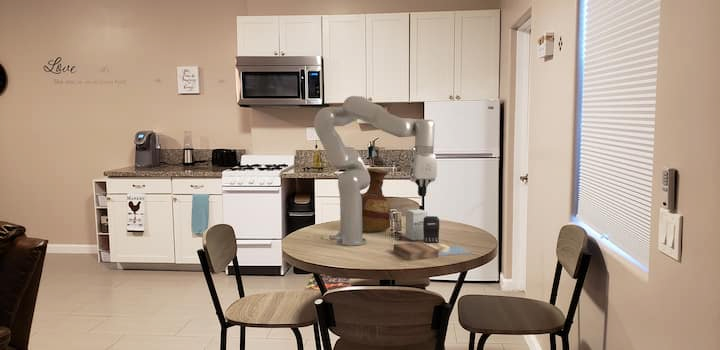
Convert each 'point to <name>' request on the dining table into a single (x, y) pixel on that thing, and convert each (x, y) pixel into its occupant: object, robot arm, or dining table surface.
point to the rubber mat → (454, 251)
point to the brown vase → (375, 204)
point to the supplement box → (415, 224)
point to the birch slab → (441, 248)
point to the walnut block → (415, 251)
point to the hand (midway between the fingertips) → (421, 195)
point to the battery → (431, 229)
